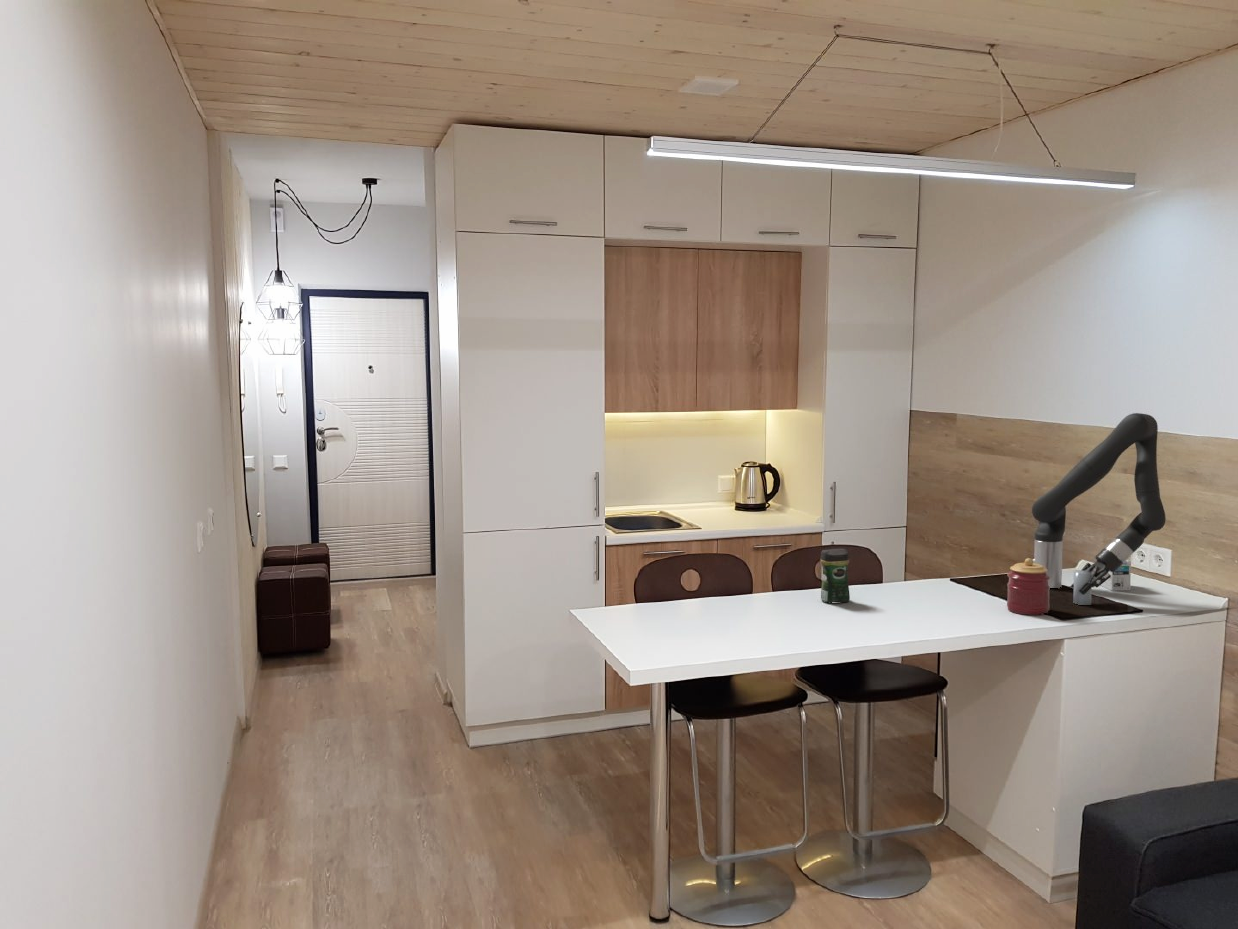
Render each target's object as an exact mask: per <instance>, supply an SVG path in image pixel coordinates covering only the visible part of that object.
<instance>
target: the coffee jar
mask: <svg viewBox="0 0 1238 929" xmlns="http://www.w3.org/2000/svg"><path fill="white" fill-rule="evenodd" d="M820 552H821V553H820V563H821V566H822V577H821V578H822V579H821V591H820V600H821V601H822V602H824V601H825V602H826V603H827V602H830V603H829V604H833V603H832V602H843V603H847V602H846V601H848V602H849V601H850V599H851V598H850V597H851V594H850V587H849V578H848V577H849V576H848V566H849V563H850V557H849V552H848V550H846V549H844V548H832V549H831V548H830V549H823V550H821V551H820ZM825 602H824V603H825Z"/></svg>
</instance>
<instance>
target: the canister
mask: <svg viewBox="0 0 1238 929" xmlns="http://www.w3.org/2000/svg"><path fill="white" fill-rule="evenodd" d="M1009 570H1010V572H1008V573H1007V574H1006V575H1007V577H1008V582H1007V584H1006V585H1007V600H1006V607H1007V610H1008V611H1009V612H1011V613H1015V614H1019V615H1024V614H1026V615H1025V616H1040V615H1039V614H1043V615H1045V614H1044V613H1047V612H1048V611H1049V612H1050V609H1051V607H1050V590H1051V589H1050V586H1049V584H1048V580H1049V579H1050V576H1049V575H1048V574H1047V573H1046V572H1047V571H1048V570H1047V569H1046V568H1045V567H1043V566H1042V565H1040V564H1035V563H1033V560H1032V558H1029V557H1028V558H1026V559H1025V560H1024V562H1017V563H1015V564H1013V565H1012V566H1010V568H1009ZM1049 612H1048V613H1049ZM1048 613H1047V614H1048ZM1027 614H1028V615H1027ZM1029 614H1030V615H1029Z"/></svg>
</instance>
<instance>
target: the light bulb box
mask: <svg viewBox="0 0 1238 929" xmlns="http://www.w3.org/2000/svg"><path fill="white" fill-rule="evenodd" d="M1131 567H1132V562H1131V560H1129V559H1128V560H1127V561H1125V562H1124V563H1123V564H1122V565H1121V566H1120V567H1119V568H1118V569H1117V570H1116V571H1115V572H1110V571H1109V572H1108V573H1109V574H1110V575H1111V577H1110V578H1109V579H1108V580H1106V581H1105V582H1104V583H1103V584H1101V585H1100V586H1101V587H1103V588H1105V589H1107V590H1110V591H1112V592H1115V591H1117V592H1121V591H1131V574H1132V572H1131V570H1132V568H1131Z"/></svg>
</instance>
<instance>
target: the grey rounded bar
mask: <svg viewBox="0 0 1238 929" xmlns="http://www.w3.org/2000/svg"><path fill="white" fill-rule="evenodd" d="M1091 573H1092V572H1089V571H1082V569H1081V570H1074V571H1073V583H1074V589H1073V598H1072V600H1073V602H1072V603H1075V604H1078V605H1092V588H1091V589H1090V590H1089V591H1088V592H1087V593H1085V594H1084V595H1083V594H1081V593H1080V592H1079V589H1080V588H1081V587H1082V586H1083V585H1084V584H1085V583H1087V581H1088V580H1089V579H1090V575H1091ZM1078 605H1077V606H1078Z"/></svg>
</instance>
